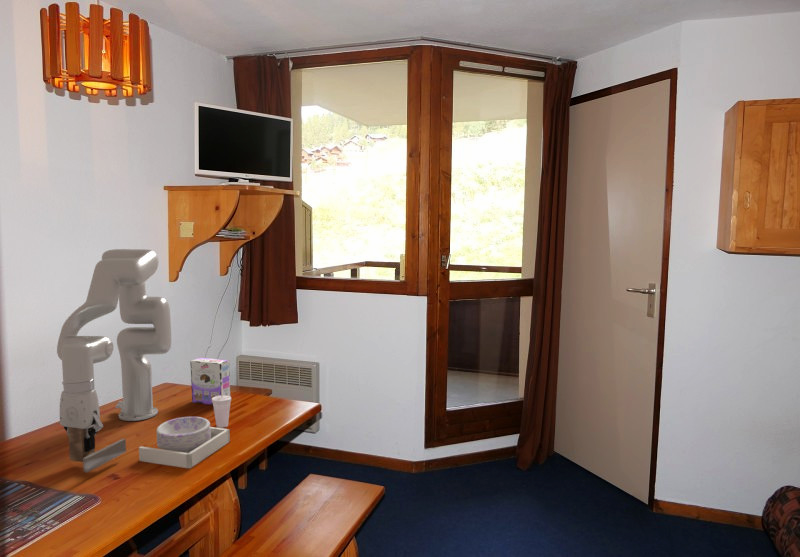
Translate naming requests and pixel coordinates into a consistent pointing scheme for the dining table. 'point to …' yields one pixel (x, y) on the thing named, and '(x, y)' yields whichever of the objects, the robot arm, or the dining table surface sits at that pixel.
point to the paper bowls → (183, 434)
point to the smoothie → (221, 409)
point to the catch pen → (186, 459)
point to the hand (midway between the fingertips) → (82, 448)
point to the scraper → (92, 457)
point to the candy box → (209, 379)
